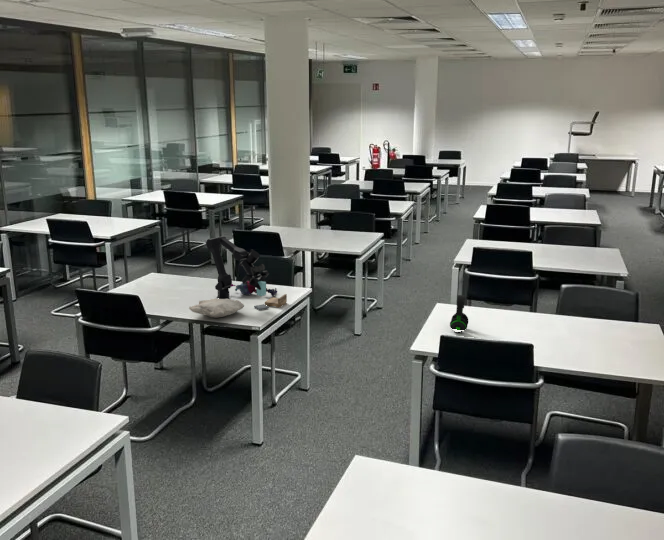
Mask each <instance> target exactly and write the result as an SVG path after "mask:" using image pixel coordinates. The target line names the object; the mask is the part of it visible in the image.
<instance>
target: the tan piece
mask: <svg viewBox="0 0 664 540" xmlns="http://www.w3.org/2000/svg"><path fill="white" fill-rule="evenodd" d="M287 297H288V296H287V294H286V293H285V294H283V295H281V296H280V297H274V296H272V297H270V298H269V299H267V300H266V301H264V305H267V306H268V307H270V306H276V307H275V308H279V307H280V308H281V306H282V305H283V306H285V305H286V304H287V303H286V302H288V301H287ZM285 303H286V304H285ZM283 306H282V307H283Z"/></svg>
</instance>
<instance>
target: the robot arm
mask: <svg viewBox="0 0 664 540" xmlns="http://www.w3.org/2000/svg"><path fill="white" fill-rule="evenodd" d="M205 244H206V247H207V250H208V251H209V252H210V253H211V255H212V258H213V260H214V261H213V262H214V264H215V267H216V271H217V274H218V276H217V283H216V285H215V286H214V290H216V291H217V296H216V299H218V298H219V299H229V298H230V290H229V289H231V288H232V287H231V284H233V279H232V275H231V274H230V273H229V274H228V272H227V269H226V267H225V264H224V261H223V257H222V254H221V252H220V251H221V246H222V247H224V248H225V249H226V250H227V251H229V252H230V253H231V254H232V256H233V258H234V259H235V260H236V261H239V267H243V269H244V270H245V274H246V275H245V276H244V277H243V278H242V280H241V283H243V284H247V281H249V283H248V284H250V285H252V286H254V287H255V289H259V290H261V287H260V286H259V284H258V282H259V281H264V282H266V281H265V279H266V278H267V277H268V276H269V275H270V273H269V271H268V270H265V269H266V266H265V264H264V263H260V264H259V265H254V264H255V263H256V261H258V259H259V258H260V253H259V252H257V251H256V250H254V249H250V250H249V252H248V251H247V250H245V249H244V248H241V247H238V246H237V245H236V244H234V243H233V242H231V241H230V240H229V239H228V238H227V237H226V236H225V235H221V236H218V237H213V238H208V239H207V240H206V241H205Z"/></svg>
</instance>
